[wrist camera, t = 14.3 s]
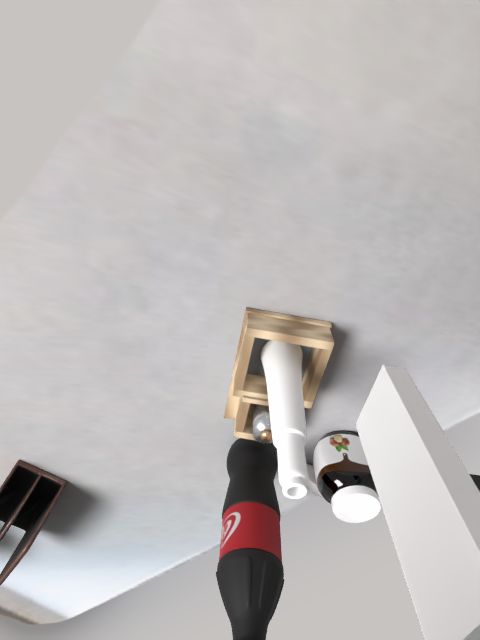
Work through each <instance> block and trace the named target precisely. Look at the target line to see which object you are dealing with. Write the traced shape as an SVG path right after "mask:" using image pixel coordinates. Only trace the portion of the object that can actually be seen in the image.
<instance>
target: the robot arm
mask: <svg viewBox="0 0 480 640" xmlns="http://www.w3.org/2000/svg"><path fill="white" fill-rule="evenodd" d="M356 428H357V431H358V434H359V437H360V440H361V443H362V447H363V450H364V453H365V456H366V459H367V462H368V465H369V468H370V471H371V475H372V478H373V481H374V484H375V487H376V490H377V493H378V496H379V499H380V502H381V505H382V508H383V512H384V515H385V518H386V521H387V524H388V527H389V530H390V533H391V536H392V539H393V543H394V546H395V549H396V552H397V555H398V558H399V561H400V564H401V567H402V570H403V574H404V577H405V580H406V583H407V586H408V589H409V592H410V595H411V598H412V601H413V605H414V608H415V611H416V614H417V617H418V620H419V623H420V626H421V629H422V633H423V636H424V639H425V640H480V476H479V475H472V474H469V473H468V472H467V470H466V468H465V467H464V465H463V463H462V462H461V460H460V458H459V456H458V455H457V453H456V452H455V450H454V449H453V446H452V445H451V443H450V442H449V440H448V438H447V437H446V435H445V433H444V431H443V430H442V428H441V426H440V425H439V423H438V421H437V420H436V418H435V416H434V415H433V413H432V411H431V410H430V408H429V406H428V405H427V403H426V401H425V400H424V398H423V396H422V395H421V393H420V391H419V390H418V388H417V386H416V385H415V383H414V381H413V380H412V378H411V376H410V375H409V373H408V371H407V370H406V368H402V367H396V366H390V365H384V364H383V365H382V368H381V370H380V372H379V374H378V376H377V379H376V381H375V383H374V385H373V387H372V390H371V392H370V394H369V396H368V398H367V401H366V403H365V405H364V407H363V409H362V412H361V414H360V416H359V418H358V420H357V422H356Z"/></svg>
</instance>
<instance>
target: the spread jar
mask: <svg viewBox="0 0 480 640" xmlns="http://www.w3.org/2000/svg"><path fill="white" fill-rule="evenodd" d="M306 465H307V472H308V484H307V485H306V487H307V488H308V489H309V490H311V491H312V492H313V493H315V494H316V495H318V496H320V497H323V498H324V499H325V500H326V501H328V502H329V503H331V504H332V509H333V513H334V515H335V516H336V517H337V518H338V519H340V520H342V521H345V522H349V523H361V522H365V521H368V520H371V519H372V518H374V517H375V516H377V515H378V513H379V511H380V510H381V504H380V501H379V498H378V497H379V496H378V493H377V490H376V487H375V484H374V481H373V478H372V475H371V471H370V468H369V465H368V462H367V459H366V456H365V453H364V450H363V447H362V443H361V440H360V437H359V435H358V434H355V433H352V432H348V431H336V432H332V433H329V434H327V435H325V436H324V437H322V438H321V439H320V440H319V442H318V443H317V445H316V447H315V450H314V456H313V465H310V464H306Z"/></svg>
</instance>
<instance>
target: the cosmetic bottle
mask: <svg viewBox="0 0 480 640" xmlns="http://www.w3.org/2000/svg"><path fill="white" fill-rule="evenodd" d="M260 355H261V361H262V364H263V367H264V372H265V377H266V384H267V392H268V402H269V412H270V422H271V430H272V438H273V444H274V446H275V447H276V448H277V454H278V472H279V482H280V484H281V486H282V490H283V494H284V495H285V496H286V497H288V498H291V499H299V498H302V497H304V496H305V495H306V493H307V487H306V485H307V484H308V472H307V465H306V458H305V450H304V446H305V445H306V443H307V433H306V420H305V410H304V399H303V389H302V357H303V352H302V349H301V347H300V345H297V344H291V343H285V342H280V341H274V340H270V341H268V342H267V343H266V344H265V345H264V346H263V348H262V350H261V354H260Z"/></svg>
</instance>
